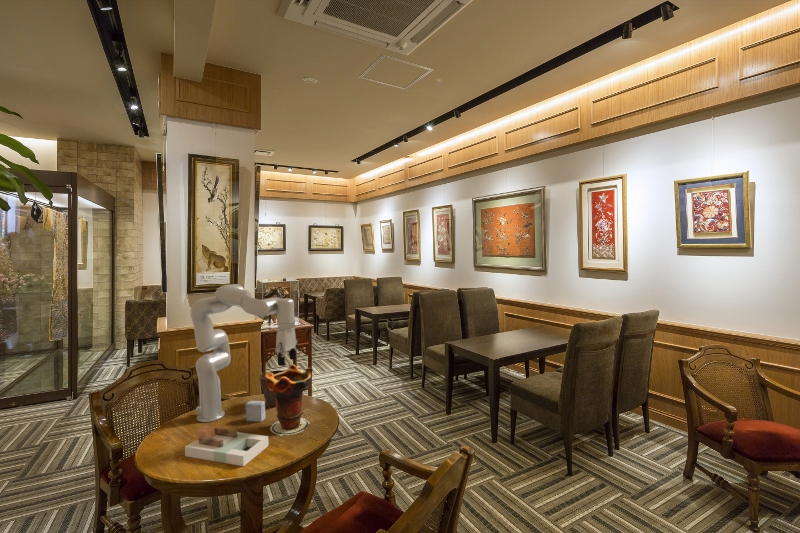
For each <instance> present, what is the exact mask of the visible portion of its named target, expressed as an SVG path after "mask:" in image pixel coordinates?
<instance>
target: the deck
mask: <svg viewBox="0 0 800 533" xmlns="http://www.w3.org/2000/svg"><path fill="white" fill-rule="evenodd" d="M213 438H214V439H220V440H223V447H216V446H209V445H203V444H199V441H198V440H196V439H194V440H193V441H192V442H190V443H188V444H187V445H185V446H184V456H185V457H187V458H193V459H199V460H204V461H206V460H207V461H212V462H217V463H223V464H228V465H234V466H239V467H241V466H242V467H244V466H246V465H247V464H248V463H249V462H251V461H252V460H253V459H254V458H256V457H257V456H258V455H259V454H260V453H262V452H263V451H264V450H265V449H266V448H267V447H268V446H269V444H270V443H269V435H261V434H253V433H247V432H239V431H237V437H236V438H234V437H227V436H221V435H215V436H214V437H213Z"/></svg>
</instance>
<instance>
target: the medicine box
mask: <svg viewBox="0 0 800 533" xmlns="http://www.w3.org/2000/svg"><path fill="white" fill-rule="evenodd" d="M245 416H246V420H245V421H246V422H263V421H264V420H265V419H266V418H267V417H266V400H265V401H264V400H249V401H248V402H246V404H245Z"/></svg>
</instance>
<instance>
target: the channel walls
mask: <svg viewBox="0 0 800 533" xmlns="http://www.w3.org/2000/svg"><path fill="white" fill-rule="evenodd" d="M237 432H238V430H235V429H228V428H223V427H222V428H221V427H215V435H221V436H227V437H234V438H236V437H237ZM199 444H203V445H209V446H216V447H223V440H220V439H214V438H207V437H200V438H199Z"/></svg>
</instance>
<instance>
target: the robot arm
mask: <svg viewBox="0 0 800 533" xmlns="http://www.w3.org/2000/svg"><path fill="white" fill-rule="evenodd" d="M232 307H237V308H241V309H242V310H243V311H244V312H245V313H247V314H248V315H253V316H257V317H267V316H271V315H274V314H277V316H276V318H277V330H276V337H275V338H276V339H275V342H276V345H275V349H274V352H275V355H276V357H277V366H281V367H284V366H286V357H285V353H286V352H289V355H288V356H289V359H290V360H297V346H298V342H299V341H298V339H297V338H296V337H297V336H296V328H295V326H296V325H295V324H296V323H295V301H294V299H292V298H289V297H287V298H281V297H277V296H275V297H269V298H264V299H258V298H255V297H254V298H253V295H252V293H251V291H249V290H247V289H244V287H243V286H242V285H241V284H238V283H233V284H225V285H222V286H220V287H218V288H217V289H216V290H215V293H214V296H210V297H204V298H199V299H198V300H196V301H195V302H194V303H193V304H192V305H191V307H190V318H191V321H192V325H193V331H194V339H195V346H196V348H197V351H199V352H201V353H206V352H210V353H207V354H203V355H202V356H200V357H199V358H198V359H196V362H195V370H196V374H197V378H198V392H199V406H197V407H196V408H195V409H194V413H198V415H197V416H196V420H197V421H198V422H200V423H210V422H216V421H218V420H221V419H222V418H223V417H224V416H225V414H226V411H224V410H223V409H222V399H221V398H222V396H221V379H220V377H219V375H218V373H217V372H219V371H221V370H222V369H225V368H226V367H227V366H230V364H231V359H232V358H231V357H232V356H231V349H230V342H229V337H228V336H229V335H228V334H227V333H226V331H225V330H223V329H221V328H217V329H214V322H213V321H212V319H211V318H210V315H214V314H220V313H223V312H226V311H228V310H230V308H232ZM211 351H213V352H211Z"/></svg>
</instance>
